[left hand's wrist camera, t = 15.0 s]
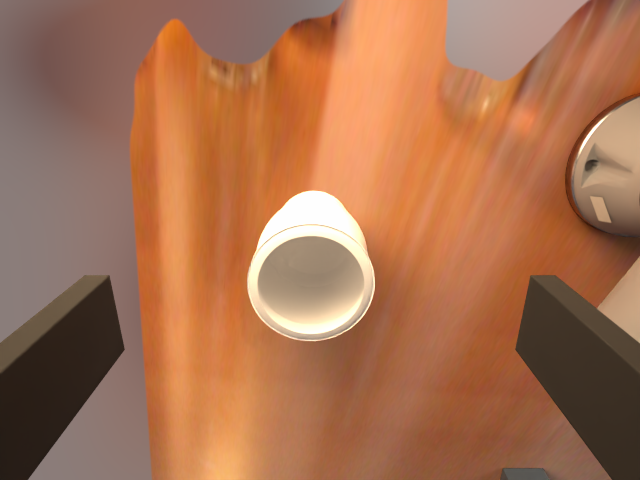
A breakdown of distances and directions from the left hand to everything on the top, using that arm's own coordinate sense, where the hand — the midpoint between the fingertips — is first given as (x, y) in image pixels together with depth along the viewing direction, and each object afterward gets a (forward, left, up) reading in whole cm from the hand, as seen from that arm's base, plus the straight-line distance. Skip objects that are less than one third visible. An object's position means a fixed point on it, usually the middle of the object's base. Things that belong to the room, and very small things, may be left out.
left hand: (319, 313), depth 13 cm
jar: (+6, +6, -33) cm, 34 cm away
